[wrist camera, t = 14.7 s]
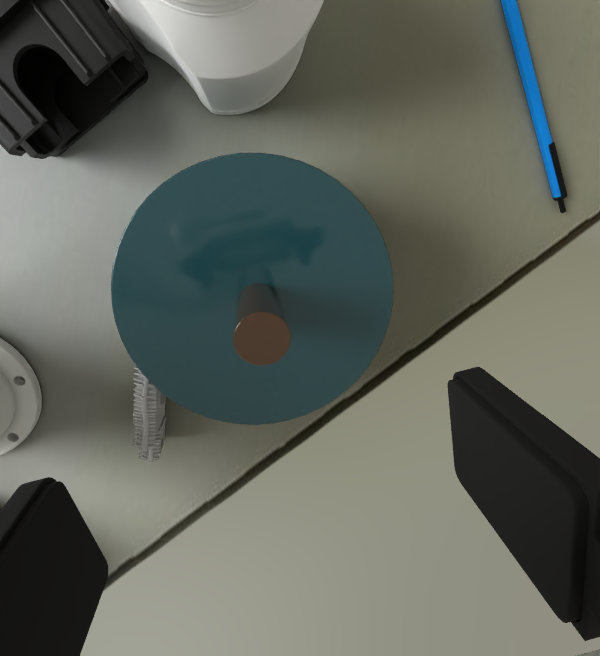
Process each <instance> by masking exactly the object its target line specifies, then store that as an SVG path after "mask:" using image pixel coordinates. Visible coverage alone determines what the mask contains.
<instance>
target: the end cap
mask: <svg viewBox="0 0 600 656" xmlns="http://www.w3.org/2000/svg"><path fill="white" fill-rule="evenodd" d="M108 9H109V6H108V5H107V3H106V2H105V1H104V0H0V144H1V145H2V147H3V148H4V149H5V150H6V151H7V152H8V153H9V154H11V155H18V156H22V155H23V154H24V153H26V152H27V154H28V155H29V156H30V157H33V158H40V159H44V158H47V157H49V156H53V157H57V156H60V155H61V154H62V153H63V152H65V151H66V150H67V149H68V148H69V147H70V146H72V145H73V144H74V143H75V142H76V141H77V140H79V139H80V138H81V137H82V136H83V135H84V134H86V133H87V132H88V131H89V130H90V129H91V128H93V127H94V126H95V125H96V124H97V123H98V122H100V121H101V120H102V119H103V118H104V117H105V116H107V115H108V114H109V113H110V112H111V111H112V110H114V109H115V108H116V107H117V106H118V105H119V104H121V103H122V102H123V101H124V100H125V99H126V98H128V97H129V96H130V95H131V94H132V93H133V92H135V91H136V90H137V89H138V88H139V87H140V86H142V85H143V84H144V83H145V82H146V81H147V79H148V72H147V70H146V68H145V67H144V66H143V59H142V58H141V57H140V55H139V54H138V53H137V51H136V50H135V49H134V47H133V46H132V45H131V43H130V42H129V40H128V39H127V38H126V36H125V35H124V34H123V32H122V31H121V30H120V28H119V27H118V26H117V24H116V23H115V22H114V20H113V19H112V18H111V16H110V15H109V14H108V12H107V11H108Z"/></svg>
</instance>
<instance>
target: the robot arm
mask: <svg viewBox="0 0 600 656" xmlns="http://www.w3.org/2000/svg"><path fill="white" fill-rule="evenodd" d="M448 396H449V407H450V419H451V431H452V442H453V454H454V466H455V471H456V474H457V477H458V479H459V481H460V482H461V484H462V486H463V487H464V488H465V490H466V491H467V492H468V494H469V495H470V497H471V498H472V499H473V501H474V502H475V503H476V505H477V506H478V508H479V509H480V510H481V512H482V513H483V514H484V516H485V517H486V519H487V520H488V521H489V523H490V524H491V526H492V527H493V528H494V530H495V531H496V533H497V534H498V535H499V537H500V538H501V539H502V541H503V542H504V543H505V545H506V546H507V548H508V549H509V551H510V552H511V553H512V555H513V556H514V557H515V559H516V560H517V562H518V563H519V564H520V566H521V567H522V569H523V570H524V571H525V572H526V574H527V575H528V577H529V578H530V580H531V581H532V582H533V584H534V585H535V587H536V588H537V589H538V591H539V592H540V593H541V595H542V596H543V598H544V599H545V600H546V602H547V603H548V605H549V606H550V607H551V608H552V610H553V611H554V613H555V614H556V615H557V616H558V618H559V619H560V620H561V621H563V622H565V623H567V622H571V623H572V624H573V626H574V627H575V628H576V630H577V631H578V632H579V634H580V635H581V636H582V638H583V639H584V640H585V641H587V640H590V639H593V638H597V637H600V458H598V457H597V456H596V455H595V454H593V453H592V452H591V451H589V450H588V449H587V448H585V447H584V446H583V445H582V444H580V443H579V442H578V441H576V440H575V439H574V438H572V437H571V436H570V435H569V434H567V433H566V432H565V431H563V430H562V429H561V428H559V427H558V426H557V425H555V424H554V423H553V422H552V421H550V420H549V419H548V418H546V417H545V416H544V415H542V414H541V413H539V412H538V411H537V410H535V409H534V408H533V407H531V406H530V405H529V404H527V403H526V402H525V401H524V400H522V399H521V398H520V397H518V396H517V395H516V394H515V393H513V392H512V391H511V390H509V389H508V388H507V387H505V386H504V385H503V384H502V383H500V382H499V381H498V380H496V379H495V378H494V377H493V376H491V375H490V374H489V373H487V372H486V371H485V370H483V369H482V368H480V367H475V368H471V369H467V370H464V371H460V372H456V373H455V374H454V376H453V380H449V382H448ZM41 409H42V394H41V390H40V385H39V382H38V380H37V377H36V375H35V373H34V371H33V369H32V368H31V366H30V365H29V364H28V362H27V361H26V359H25V358H24V357H23V356H22V355H21V354H20V353H19V352H18V351H17V350H16V349H15V348H14V347H13V346H11V345H10V344H8V343H7V342H6V341H4V340H3V339H1V338H0V456H1V455H4V454H5V453H7V452H9V451H11V450H12V449H14V448H16V447H17V446H18V445H19V444H20V443H21V442H22V441H24V440H25V438H26V437H27V436H28V435H29V434H30V433H31V431H32V430H33V429H34V427H35V425H36V423H37V421H38V420H39V416H40V412H41ZM107 577H108V564H107V561H106V559H105V557H104V556H103V554H102V552H101V550H100V548H99V546H98V545H97V543H96V541H95V539H94V537H93V536H92V534H91V532H90V530H89V528H88V527H87V525H86V523H85V521H84V519H83V518H82V516H81V514H80V512H79V510H78V509H77V507H76V505H75V503H74V501H73V499H72V498H71V496H70V494H69V492H68V490H67V489H66V487H65V485H64V484H63V483H62V482H57V481H56V480H55V479H53V478H49V477H48V478H44V479H40V480H36V481H33V482H29V483H25V484H23V485H21V486H20V487H19V488H18V489H17V490H16V491H15V493H14V494H13V495H12V496H11V498H10V499H9V500H8V502H7V503H6V504H5V506H4V507H3V508H2V510H1V511H0V656H80V653H81V650H82V648H83V645H84V642H85V639H86V637H87V634H88V631H89V628H90V625H91V622H92V620H93V617H94V614H95V611H96V609H97V606H98V603H99V600H100V597H101V595H102V592H103V589H104V586H105V584H106V581H107ZM578 656H600V650H596V651H592V652H589V653H585V654H581V655H578Z"/></svg>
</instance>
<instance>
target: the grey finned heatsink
mask: <svg viewBox="0 0 600 656" xmlns="http://www.w3.org/2000/svg"><path fill="white" fill-rule="evenodd" d="M134 369H136V370H138V373H136V372H134V375H137V378H133V380H136V381H137V382H134V384H135V385H136V389H135V388H133V391H135V393H134V394H133V396H135V398H134V399H133V401H135V403H134V404H133V405H134V406H135V407H134V409H135V410H136V411H133V414H132V415H134V416H133V419H134V420H133V421H134V422H137V423H134V424H133V425H136V426H134V428H135V429H137V431H135V430H134V433H137V435H135V434H134V435H133V437H137V440H136V439H133V441H135V442H137V443H136V444H134V443H133V446H136V447H140V450H142V451H143V453H142V452H140V453H139V454H141V455H143V456H139V458H141V459H144V460H148V461H149V462H152V461H153V460H157V459H159V455H160V453H161V450H162V447H163V444H164V440H165V421H166V416H165V400H166V396H165V395H164V394H163V393H162V392H161V391H159V390H158V389H157V388H156V387H155V386H154V385H153V384H152V383H150V381H149V380H148V379H147V378H146V377H145V376H144V375H143V373H142V372H141V371H140V370H139V369H138V368H137V367H135V368H134ZM135 416H136V417H135ZM135 419H137V420H135Z"/></svg>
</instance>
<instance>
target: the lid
mask: <svg viewBox="0 0 600 656" xmlns="http://www.w3.org/2000/svg"><path fill="white" fill-rule="evenodd" d="M111 295H112V307H113V312H114V317H115V322H116V325H117V328H118V331H119V334H120V337H121V339H122V341H123V343H124V345H125V348H126V350H127V352H128V354H129V355H130V357H131V358H132V360H133V361H134V363H135V364H136V366H137V367H138V369H139V370H140V371H141V372H142V373H143V375H144V376H145V377H146V378H147V379H148V380H149V381H150V383H152V384H153V385H154V386H155V387H156V388H157V389H158V390H159V391H161V392H162V393H163V394H164V395H165V396H167V397H168V398H170V399H171V400H173V401H174V402H176V403H177V404H179V405H181V406H183V407H185V408H186V409H188V410H190V411H192V412H195V413H197V414H200V415H202V416H205V417H208V418H211V419H215V420H219V421H223V422H229V423H236V424H253V425H259V424H270V423H277V422H282V421H287V420H291V419H294V418H297V417H300V416H304V415H306V414H308V413H311V412H313V411H315V410H317V409H320V408H321V407H323V406H325V405H326V404H328V403H330V402H331V401H333V400H334V399H336V398H337V397H338V396H340V395H341V394H342V393H344V392H345V391H346V390H347V389H348V388H349V387H350V386H352V385H353V384H354V383H355V382H356V381H357V380H358V379H359V377H360V376H361V375H362V374H363V373H364V371H365V370H366V369H367V368H368V366H369V365H370V363H371V362H372V360H373V358H374V357H375V355H376V354H377V352H378V350H379V348H380V346H381V343H382V341H383V339H384V337H385V334H386V331H387V328H388V325H389V321H390V316H391V311H392V304H393V274H392V268H391V263H390V258H389V254H388V251H387V248H386V245H385V242H384V239H383V237H382V235H381V233H380V231H379V229H378V227H377V225H376V223H375V221H374V220H373V218H372V217H371V215H370V214H369V212H368V211H367V209H366V208H365V206H364V205H363V204H362V203H361V202H360V201H359V200H358V199H357V198H356V197H355V195H354V194H353V193H352V192H351V191H349V190H348V189H347V188H346V187H345V186H343V185H342V184H341V183H340V182H339V181H337V180H336V179H334V178H333V177H331V176H330V175H328V174H326V173H325V172H323V171H322V170H320V169H318V168H315V167H313V166H311V165H309V164H306V163H304V162H302V161H299V160H295V159H292V158H288V157H285V156H280V155H273V154H266V153H237V154H231V155H224V156H218V157H215V158H212V159H208V160H205V161H202V162H199V163H197V164H195V165H193V166H190V167H188V168H186V169H184V170H182V171H180V172H178V173H177V174H175V175H174V176H172V177H171V178H169V179H168V180H166V181H165V182H163V183H162V184H161V185H160V186H159V187H158V188H157V189H156V190H155V191H153V192H152V193H151V194H150V195H149V196H148V197H147V198H146V199H145V201H144V202H143V203H142V204H141V206H140V207H139V208H138V209H137V210H136V212H135V213H134V215H133V216H132V218H131V220H130V221H129V223H128V225H127V226H126V228H125V230H124V233H123V235H122V237H121V240H120V242H119V245H118V247H117V251H116V255H115V259H114V263H113V270H112V280H111Z"/></svg>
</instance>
